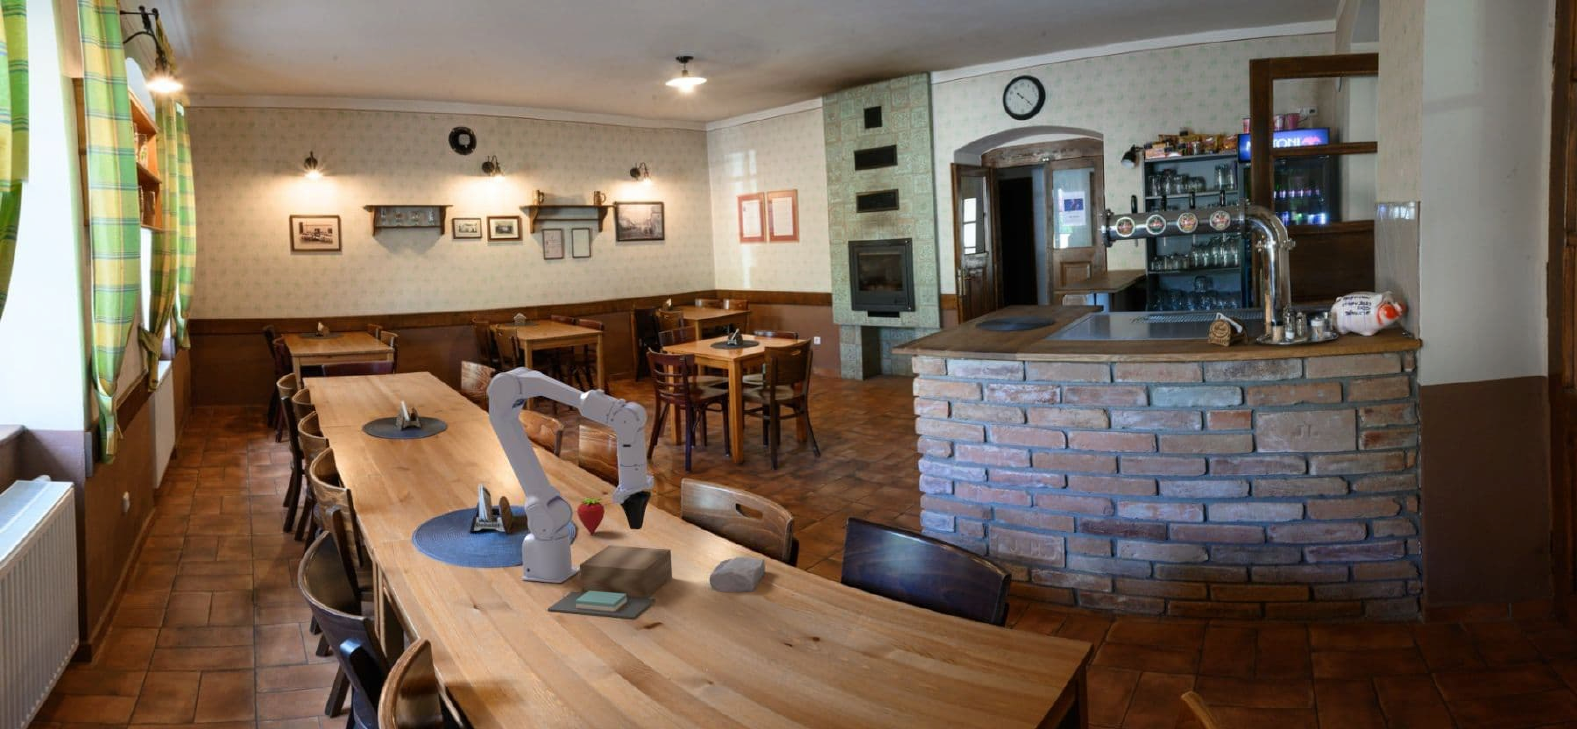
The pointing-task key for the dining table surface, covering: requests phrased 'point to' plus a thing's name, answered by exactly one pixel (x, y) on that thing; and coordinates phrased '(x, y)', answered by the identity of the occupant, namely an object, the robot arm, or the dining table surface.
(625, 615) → the mat
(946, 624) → the dining table surface
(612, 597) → the teal and white sponge
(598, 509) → the strawberry
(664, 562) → the riser
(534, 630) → the dining table surface
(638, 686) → the dining table surface
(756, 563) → the stone block
